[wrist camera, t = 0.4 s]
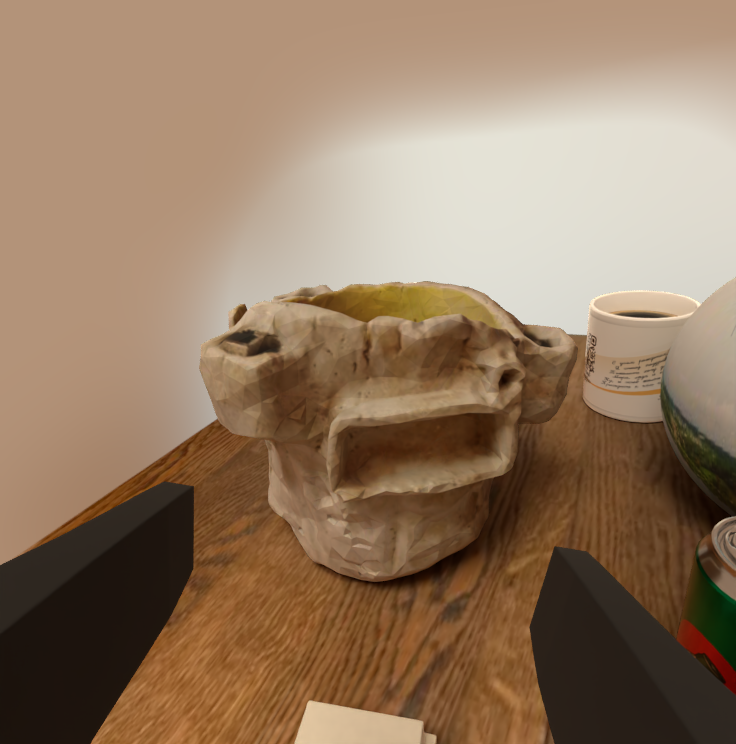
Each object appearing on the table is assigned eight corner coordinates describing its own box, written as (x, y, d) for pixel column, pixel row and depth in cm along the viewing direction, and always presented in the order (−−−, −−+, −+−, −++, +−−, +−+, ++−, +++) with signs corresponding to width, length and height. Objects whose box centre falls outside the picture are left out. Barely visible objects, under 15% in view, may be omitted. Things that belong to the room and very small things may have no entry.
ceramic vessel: (483, 333, 52) (554, 125, 30) (544, 569, 41) (728, 514, 19) (278, 356, 52) (197, 162, 30) (284, 600, 41) (163, 582, 19)
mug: (560, 404, 53) (565, 309, 49) (606, 367, 60) (614, 281, 56) (665, 433, 46) (682, 325, 41) (703, 387, 53) (722, 290, 48)
